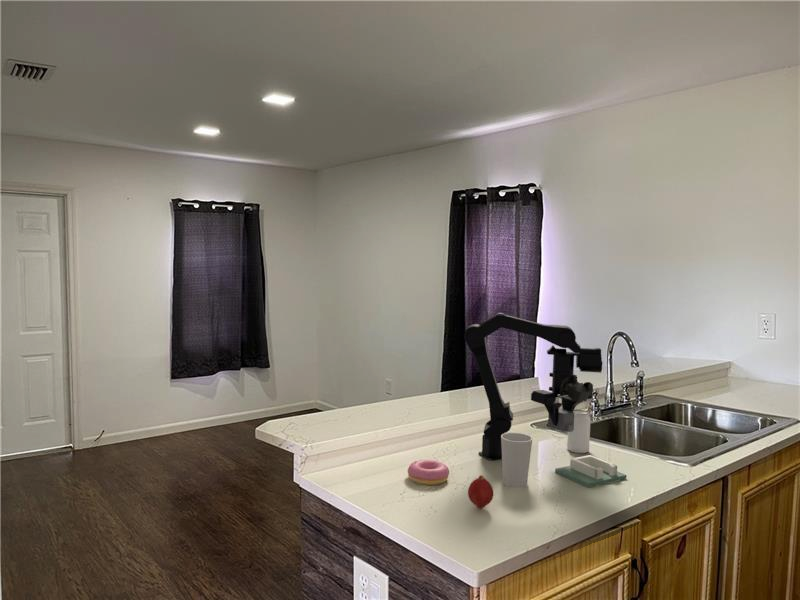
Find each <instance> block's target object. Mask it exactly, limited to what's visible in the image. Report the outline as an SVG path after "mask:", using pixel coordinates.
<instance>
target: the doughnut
mask: <svg viewBox="0 0 800 600" xmlns="http://www.w3.org/2000/svg"><path fill="white" fill-rule="evenodd" d="M407 475H408V477H409V479H410V480H411V481H413V482H414V483H416V484H418V485H424V486H436V485H440V484H443V483H444V482H446V481H447V480H448V479H449V475H450V470H449V467H448V466H447V465H446V464H445V463H443V461H438V460H436V459H419V460H415V461H413V462H412V463H410V464H409V466H408V468H407Z"/></svg>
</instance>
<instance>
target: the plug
mask: <svg viewBox="0 0 800 600" xmlns="http://www.w3.org/2000/svg"><path fill="white" fill-rule="evenodd" d="M547 417H548V419H547V427H549V428H552V429H555V430H557V431H559V432H567V433H568V432H572V431H573V430H574V412H571V411H568V410H565V409H563V408H562V407H560V408H559V413H558V423H557V426H555V425H553V423H552V420H551V418H550V415H549V414H548V416H547Z"/></svg>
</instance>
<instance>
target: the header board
mask: <svg viewBox="0 0 800 600" xmlns="http://www.w3.org/2000/svg"><path fill="white" fill-rule="evenodd" d="M554 469H555V470H554V472H555V473H556V474H559V475H560V476H563V477H565V478H566V479H567V478H568V480H571V481H574V482H576V483H578V484H580V485H583V486H585V487H587V488H592V487H597V486H600V485H605V484H609V483H610V484H611V483H614V482H618V481H623V480H627V474H625V473H622V472H620V471H618V465H616V464H615V463H611V462H609V461H606V460H603V459H601V458H598V457H597V456H593V455H591V454H589V455H583V456H578V457H573V458H570V461H569V465H567V466H562V467H557V468H554Z"/></svg>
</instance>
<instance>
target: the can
mask: <svg viewBox="0 0 800 600" xmlns="http://www.w3.org/2000/svg"><path fill="white" fill-rule="evenodd" d="M573 412H574V430H573V431H572V432H568V431H567V437H566V438H567V440H566V442H567V443H566V449H567V451H569V452H571V453H574V454H587V453H588V452H589V451H590V439H591V437H590V436H591V415H590V411H587V410H586V409H585V410H583V409H574V411H573Z"/></svg>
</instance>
